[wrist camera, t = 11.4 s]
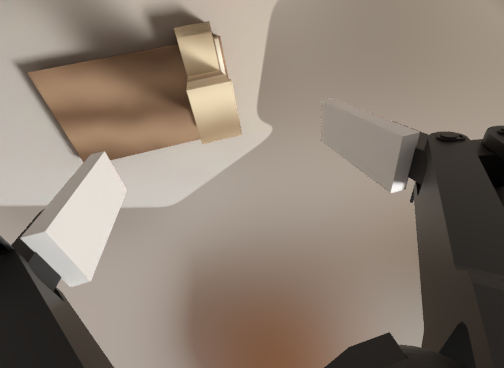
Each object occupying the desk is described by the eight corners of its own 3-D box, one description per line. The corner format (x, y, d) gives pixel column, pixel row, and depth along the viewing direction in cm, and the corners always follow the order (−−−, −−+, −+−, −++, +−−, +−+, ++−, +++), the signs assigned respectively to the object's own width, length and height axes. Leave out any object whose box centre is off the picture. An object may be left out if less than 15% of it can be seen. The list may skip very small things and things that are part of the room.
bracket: (175, 29, 28) (165, 20, 17) (207, 23, 29) (218, 10, 18) (202, 124, 35) (207, 162, 24) (228, 118, 35) (245, 152, 24)
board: (37, 70, 28) (26, 72, 26) (218, 36, 30) (219, 35, 28) (91, 159, 34) (85, 166, 32) (236, 125, 36) (238, 130, 35)
